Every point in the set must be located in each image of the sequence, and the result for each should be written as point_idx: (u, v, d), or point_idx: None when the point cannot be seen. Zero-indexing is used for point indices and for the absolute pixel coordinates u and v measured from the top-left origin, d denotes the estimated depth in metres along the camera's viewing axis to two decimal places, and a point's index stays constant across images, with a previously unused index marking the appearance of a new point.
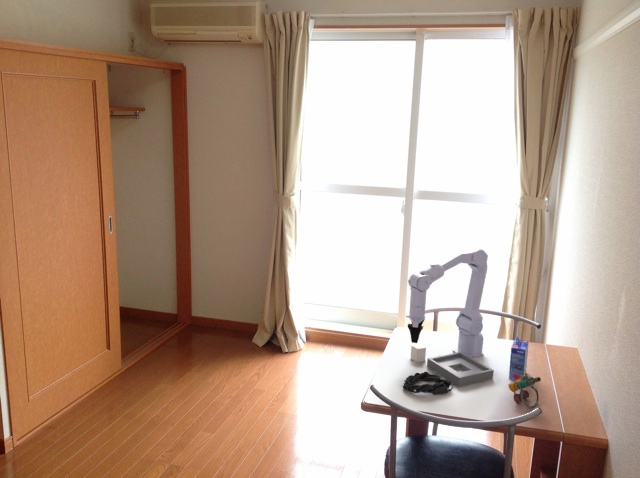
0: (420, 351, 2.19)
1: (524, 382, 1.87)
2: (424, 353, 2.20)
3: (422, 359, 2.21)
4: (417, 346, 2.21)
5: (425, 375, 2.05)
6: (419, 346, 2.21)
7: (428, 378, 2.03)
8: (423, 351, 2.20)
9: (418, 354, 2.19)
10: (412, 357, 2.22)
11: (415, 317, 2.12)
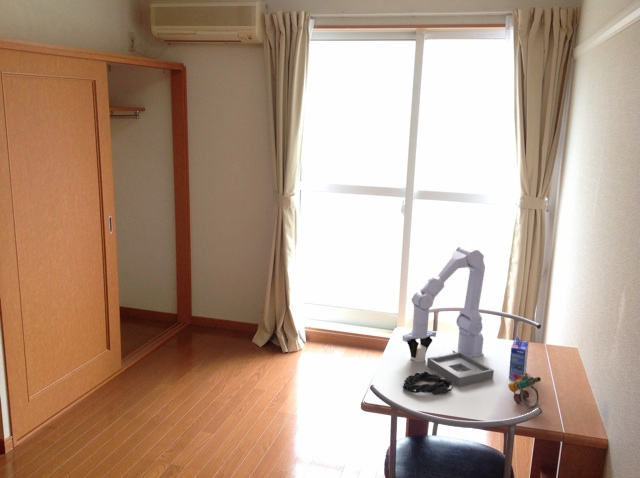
0: (420, 351, 2.19)
1: (524, 382, 1.87)
2: (424, 353, 2.20)
3: (422, 359, 2.21)
4: None
5: (425, 375, 2.05)
6: (419, 346, 2.21)
7: (428, 378, 2.03)
8: (423, 351, 2.20)
9: (418, 354, 2.19)
10: (412, 357, 2.22)
11: (413, 333, 2.19)
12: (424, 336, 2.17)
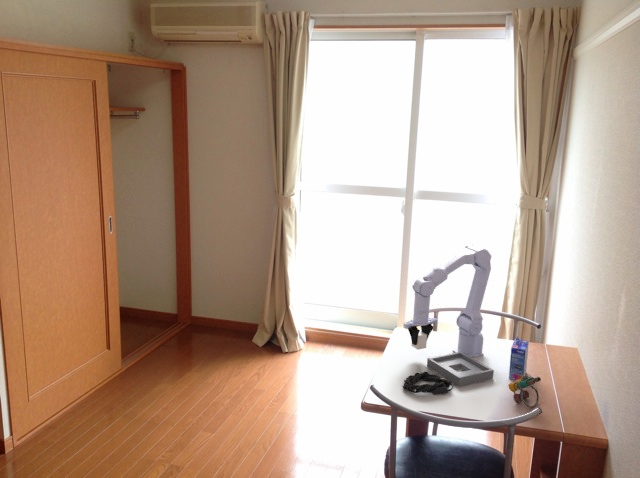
0: (421, 338, 2.18)
1: (524, 382, 1.87)
2: (425, 340, 2.19)
3: (423, 346, 2.19)
4: None
5: (425, 375, 2.05)
6: (420, 333, 2.20)
7: (428, 378, 2.03)
8: (424, 338, 2.19)
9: (419, 342, 2.18)
10: (413, 344, 2.21)
11: (414, 320, 2.18)
12: (425, 323, 2.16)
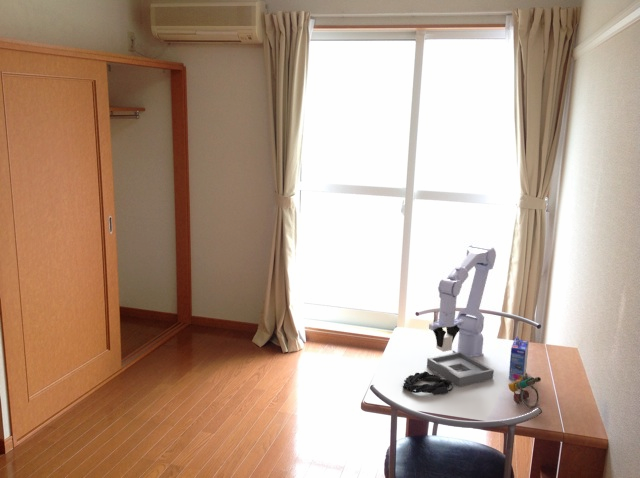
0: (447, 340, 2.11)
1: (524, 382, 1.87)
2: (451, 342, 2.12)
3: (449, 348, 2.13)
4: None
5: (425, 375, 2.05)
6: (445, 335, 2.13)
7: (428, 378, 2.03)
8: (450, 340, 2.12)
9: (444, 343, 2.11)
10: (438, 346, 2.14)
11: (439, 321, 2.11)
12: (451, 324, 2.09)
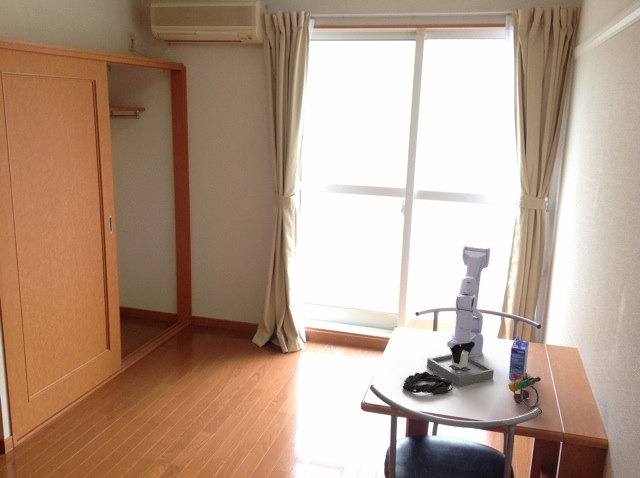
0: (464, 356, 2.08)
1: (524, 382, 1.87)
2: (467, 358, 2.10)
3: (465, 364, 2.10)
4: None
5: (425, 375, 2.05)
6: None
7: (428, 378, 2.03)
8: (466, 356, 2.09)
9: (461, 360, 2.08)
10: (454, 363, 2.10)
11: (456, 338, 2.07)
12: (469, 340, 2.06)
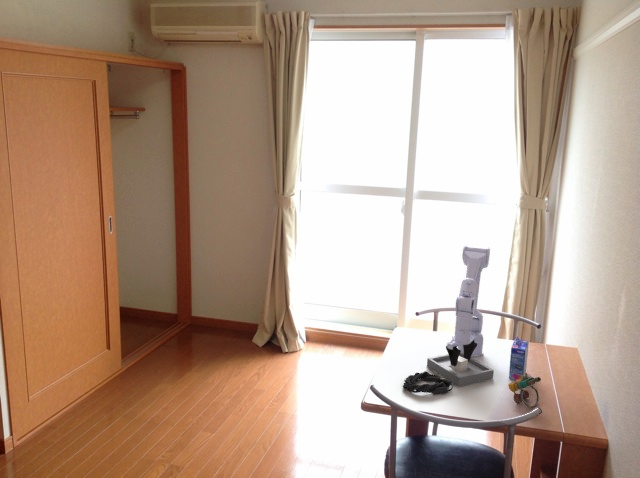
0: (463, 364, 2.09)
1: (524, 382, 1.87)
2: (466, 366, 2.10)
3: None
4: (459, 359, 2.10)
5: (425, 375, 2.05)
6: (460, 358, 2.11)
7: (428, 378, 2.03)
8: (465, 364, 2.10)
9: (461, 368, 2.08)
10: None
11: (456, 340, 2.07)
12: (468, 342, 2.06)
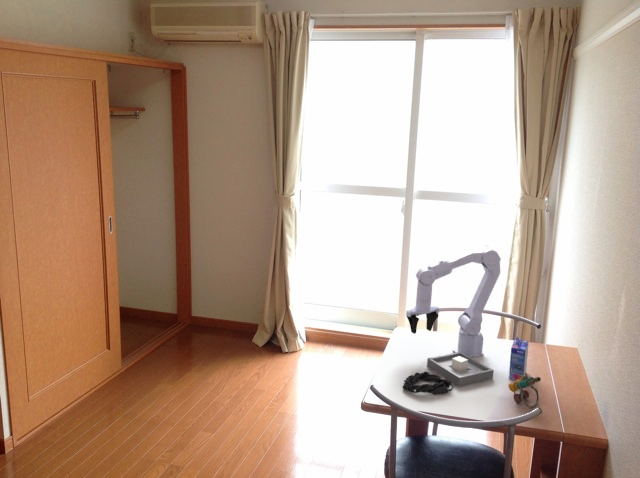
0: (463, 364, 2.09)
1: (524, 382, 1.87)
2: (466, 366, 2.10)
3: None
4: (459, 359, 2.10)
5: (425, 375, 2.05)
6: (460, 358, 2.11)
7: (428, 378, 2.03)
8: (465, 364, 2.10)
9: (461, 368, 2.08)
10: None
11: (416, 309, 2.23)
12: (427, 311, 2.21)
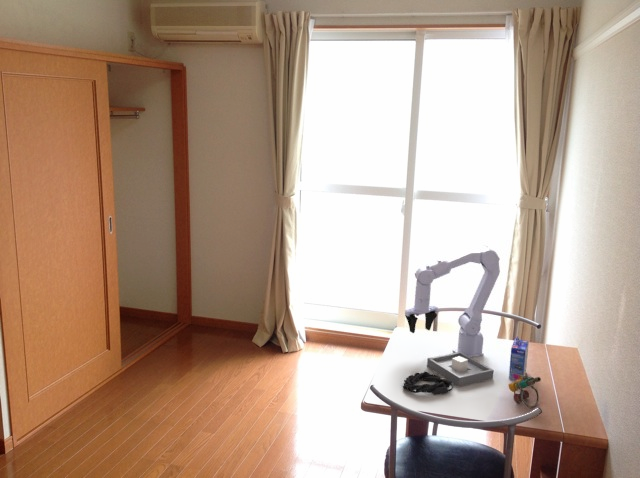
0: (463, 364, 2.09)
1: (524, 382, 1.87)
2: (466, 366, 2.10)
3: None
4: (459, 359, 2.10)
5: (425, 375, 2.05)
6: (460, 358, 2.11)
7: (428, 378, 2.03)
8: (465, 364, 2.10)
9: (461, 368, 2.08)
10: None
11: (415, 308, 2.23)
12: (426, 311, 2.22)
